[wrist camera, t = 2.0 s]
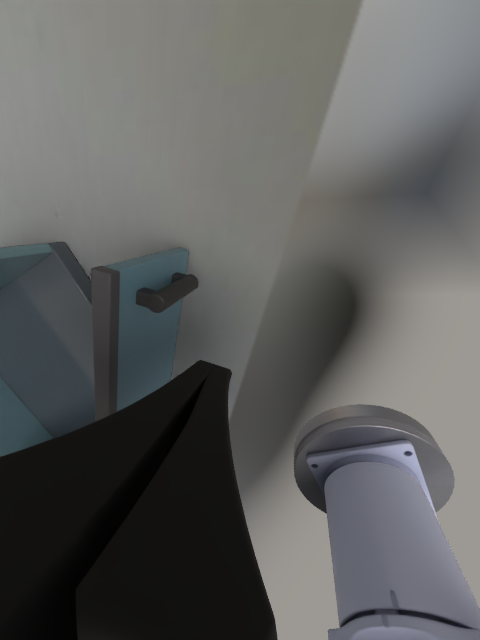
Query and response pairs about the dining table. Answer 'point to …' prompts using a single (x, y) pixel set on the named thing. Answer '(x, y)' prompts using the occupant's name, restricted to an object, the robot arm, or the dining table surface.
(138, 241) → the dining table surface
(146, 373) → the blue flat panel
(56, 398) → the light blue open box
